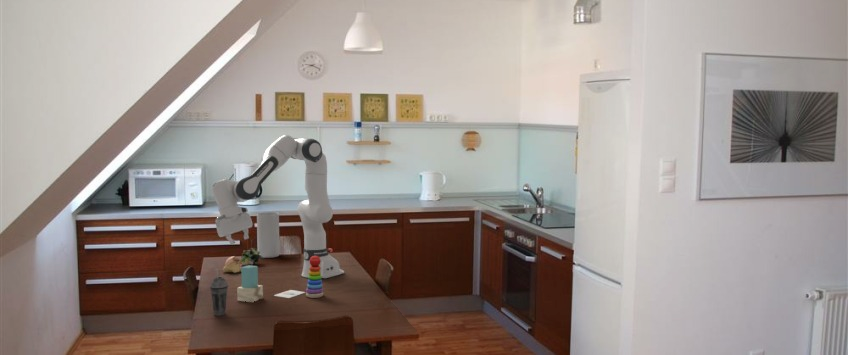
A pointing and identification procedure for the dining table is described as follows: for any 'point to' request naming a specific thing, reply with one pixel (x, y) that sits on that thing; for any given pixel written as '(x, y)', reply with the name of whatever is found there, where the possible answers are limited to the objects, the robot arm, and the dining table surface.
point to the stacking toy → (314, 279)
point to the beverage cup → (219, 294)
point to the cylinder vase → (268, 234)
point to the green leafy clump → (251, 256)
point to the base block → (250, 293)
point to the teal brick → (249, 276)
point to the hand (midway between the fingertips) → (240, 241)
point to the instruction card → (289, 294)
